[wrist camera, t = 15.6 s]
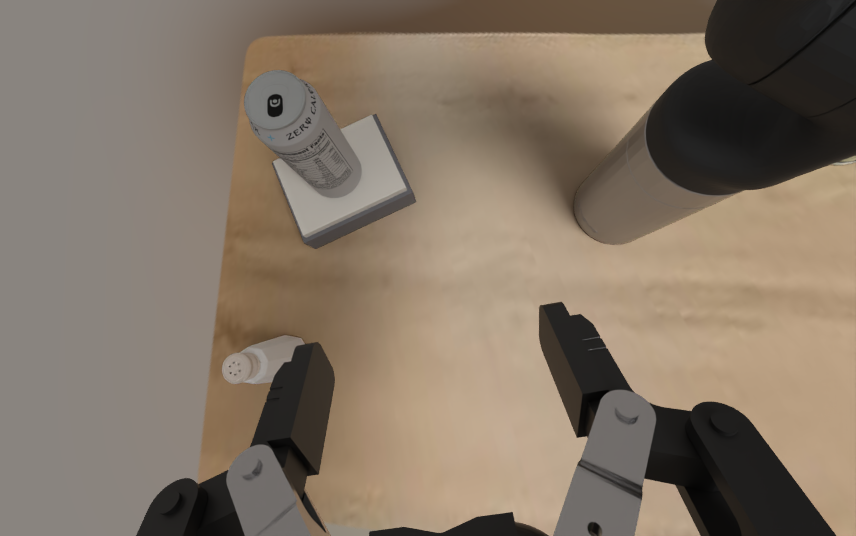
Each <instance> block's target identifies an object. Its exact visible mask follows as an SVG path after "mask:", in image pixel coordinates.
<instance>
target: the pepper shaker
mask: <svg viewBox="0 0 856 536" xmlns="http://www.w3.org/2000/svg"><path fill="white" fill-rule="evenodd" d="M303 344H305V343H304V342H303V340H302V338H299V337H293V336H288V335H283V336H280V337H277V338H274V339H270V340H267V341H264V342H261V343H258V344H254V345H251V346H249V347H247V348H246V349H244V350H243V351H241V352H240V353H234V354H231V355H229V356H228V357H227V358H226V359H225V361H224V363H223V366H222V373H223V376H224V378H225V379H226V380H227V381H228V382H229V383H232V384H239V383H242V382H245V383H250V384H261V383H270V382H272V381H273V378H274V375H275V374H276V373H277V371H278V370H279V369H280V367H281V366H282V365H283V363H284V362H290V361H291V359H292V356H293V352H294V349H295V347H296V346H298V345H303Z"/></svg>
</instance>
